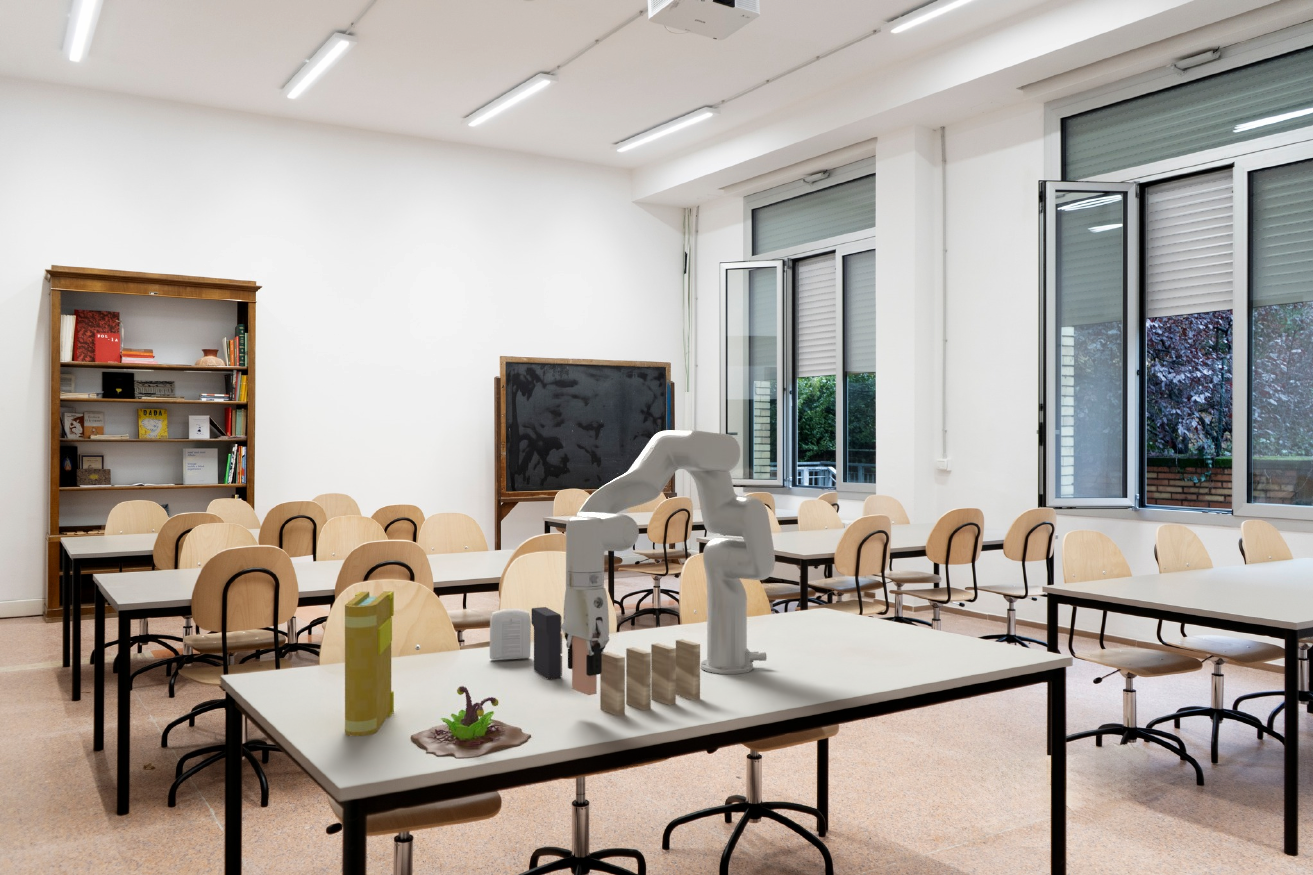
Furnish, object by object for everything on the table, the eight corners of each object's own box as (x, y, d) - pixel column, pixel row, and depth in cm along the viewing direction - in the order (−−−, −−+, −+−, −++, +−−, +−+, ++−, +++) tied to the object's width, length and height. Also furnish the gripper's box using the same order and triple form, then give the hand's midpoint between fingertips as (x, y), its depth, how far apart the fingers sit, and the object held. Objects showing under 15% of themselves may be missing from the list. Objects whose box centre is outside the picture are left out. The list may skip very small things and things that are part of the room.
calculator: (564, 678, 224) (564, 614, 224) (546, 681, 222) (546, 615, 222) (548, 668, 234) (548, 606, 233) (531, 670, 232) (531, 607, 232)
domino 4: (658, 699, 205) (658, 643, 205) (675, 706, 200) (675, 648, 200) (651, 701, 204) (651, 644, 204) (668, 707, 199) (668, 649, 199)
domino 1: (579, 687, 193) (580, 627, 193) (596, 693, 188) (596, 632, 188) (572, 688, 192) (572, 628, 192) (588, 695, 187) (589, 633, 187)
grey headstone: (529, 654, 248) (529, 606, 248) (531, 658, 243) (531, 609, 243) (489, 656, 245) (489, 608, 245) (490, 660, 241) (490, 611, 241)
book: (359, 715, 195) (359, 591, 194) (393, 714, 195) (393, 591, 195) (339, 742, 178) (339, 606, 178) (376, 741, 178) (376, 606, 178)
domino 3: (633, 704, 201) (633, 647, 201) (650, 711, 196) (650, 652, 196) (626, 706, 200) (626, 648, 200) (643, 713, 195) (643, 653, 195)
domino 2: (607, 710, 197) (607, 651, 197) (624, 717, 192) (624, 657, 192) (600, 711, 196) (600, 652, 196) (617, 718, 191) (617, 658, 191)
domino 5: (682, 694, 209) (682, 639, 209) (700, 700, 204) (700, 643, 204) (675, 695, 208) (675, 640, 208) (693, 702, 203) (693, 645, 203)
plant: (484, 725, 189) (484, 668, 189) (546, 749, 176) (546, 687, 175) (392, 748, 175) (392, 687, 175) (451, 776, 162) (451, 709, 161)
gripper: (626, 583, 186) (625, 677, 186) (577, 572, 199) (576, 660, 199) (593, 586, 181) (592, 683, 181) (545, 575, 195) (545, 665, 195)
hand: (584, 670), depth 190 cm, fingers closed on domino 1, 5 cm apart
